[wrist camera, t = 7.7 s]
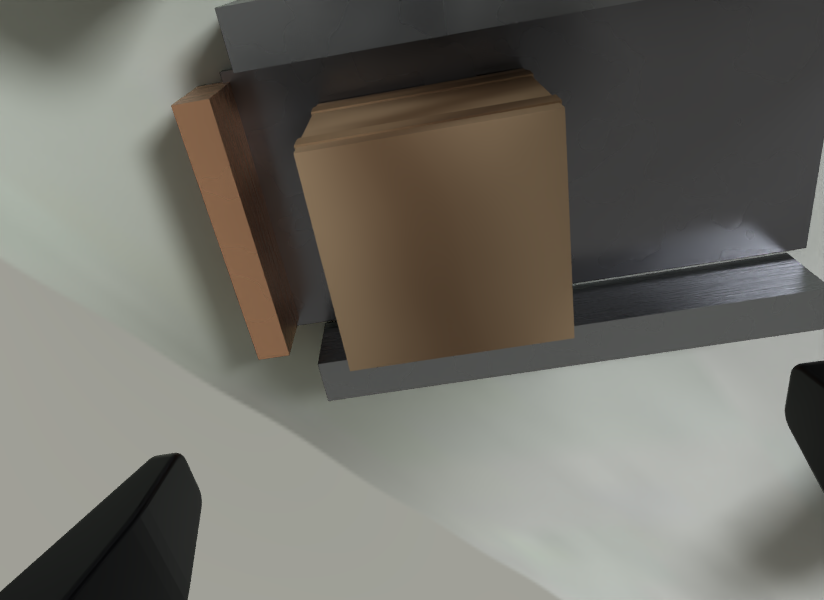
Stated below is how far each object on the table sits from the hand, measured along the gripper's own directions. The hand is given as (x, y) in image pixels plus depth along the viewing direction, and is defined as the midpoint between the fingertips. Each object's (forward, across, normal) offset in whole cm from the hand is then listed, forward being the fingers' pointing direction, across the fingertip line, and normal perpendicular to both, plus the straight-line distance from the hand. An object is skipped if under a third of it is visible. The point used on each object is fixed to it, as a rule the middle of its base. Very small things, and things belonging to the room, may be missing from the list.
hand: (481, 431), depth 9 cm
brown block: (+12, 0, 0) cm, 12 cm away
